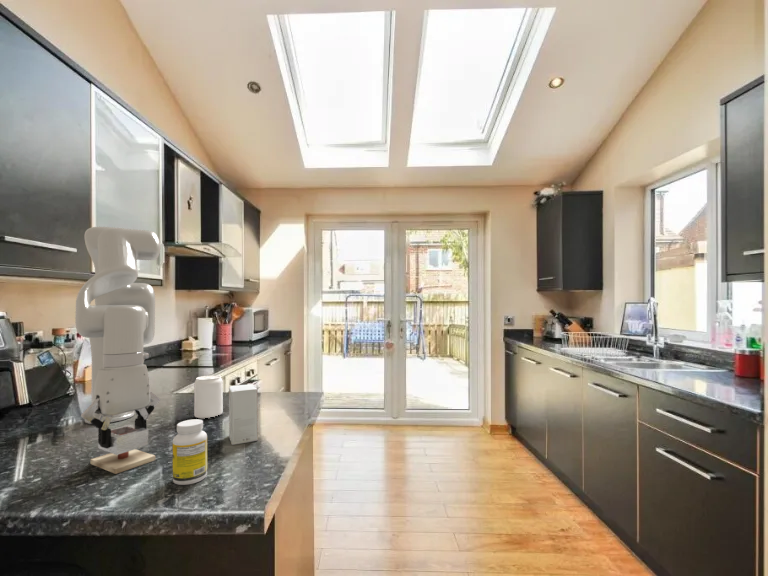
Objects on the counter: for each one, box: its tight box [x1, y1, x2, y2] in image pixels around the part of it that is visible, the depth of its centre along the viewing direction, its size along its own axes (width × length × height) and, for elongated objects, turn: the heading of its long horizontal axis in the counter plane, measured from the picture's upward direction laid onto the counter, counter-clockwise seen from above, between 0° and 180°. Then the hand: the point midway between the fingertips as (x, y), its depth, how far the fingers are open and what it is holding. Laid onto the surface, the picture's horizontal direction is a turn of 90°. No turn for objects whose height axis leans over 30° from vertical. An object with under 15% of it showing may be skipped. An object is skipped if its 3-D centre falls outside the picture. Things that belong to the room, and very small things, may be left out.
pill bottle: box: [172, 418, 208, 486], centre depth 77 cm, size 6×6×11 cm
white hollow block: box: [97, 423, 149, 455], centre depth 86 cm, size 8×6×4 cm
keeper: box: [89, 433, 156, 475], centre depth 86 cm, size 11×8×6 cm
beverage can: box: [193, 374, 224, 420], centre depth 122 cm, size 8×8×12 cm
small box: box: [228, 383, 259, 446], centre depth 100 cm, size 8×6×13 cm
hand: (123, 441), depth 86 cm, fingers closed on white hollow block, 6 cm apart
